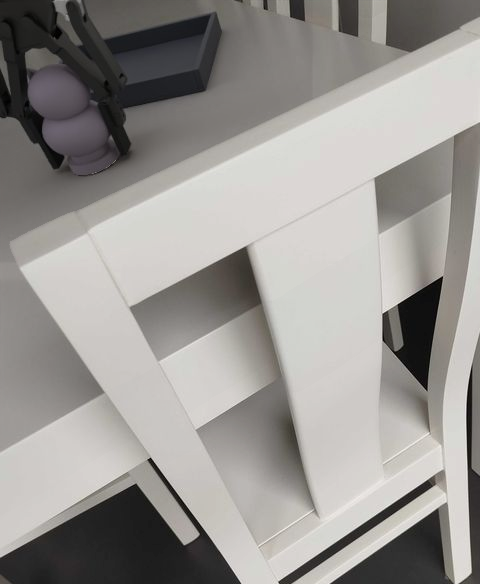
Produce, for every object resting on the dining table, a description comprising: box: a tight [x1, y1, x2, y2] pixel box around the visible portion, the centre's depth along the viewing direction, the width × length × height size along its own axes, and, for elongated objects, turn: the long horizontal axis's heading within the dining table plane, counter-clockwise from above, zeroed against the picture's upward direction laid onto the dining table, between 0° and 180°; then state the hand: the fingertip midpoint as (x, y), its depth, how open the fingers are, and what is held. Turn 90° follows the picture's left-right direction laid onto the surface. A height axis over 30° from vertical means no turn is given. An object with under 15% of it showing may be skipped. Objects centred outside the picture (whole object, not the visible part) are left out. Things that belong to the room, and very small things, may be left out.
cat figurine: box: [26, 63, 120, 176], centre depth 70 cm, size 8×8×12 cm
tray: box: [30, 10, 222, 118], centre depth 90 cm, size 26×22×3 cm
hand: (92, 156), depth 74 cm, fingers closed on cat figurine, 8 cm apart
